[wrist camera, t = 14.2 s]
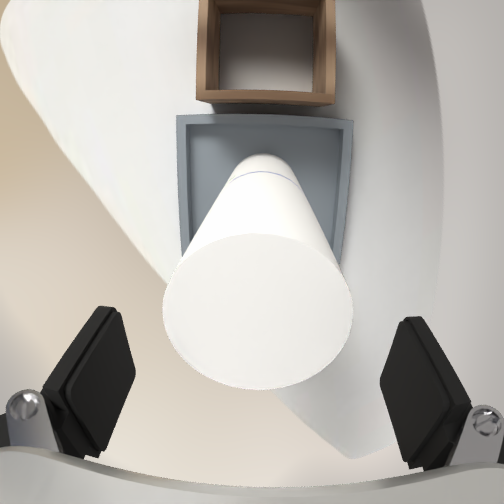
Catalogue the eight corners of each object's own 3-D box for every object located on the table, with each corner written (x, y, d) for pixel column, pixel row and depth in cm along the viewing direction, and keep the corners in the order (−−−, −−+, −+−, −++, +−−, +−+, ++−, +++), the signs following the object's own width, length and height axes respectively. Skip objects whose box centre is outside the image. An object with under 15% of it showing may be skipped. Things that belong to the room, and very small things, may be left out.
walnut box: (213, 8, 27) (200, -19, 20) (320, 11, 27) (334, -15, 20) (211, 103, 32) (195, 99, 25) (319, 106, 32) (334, 103, 24)
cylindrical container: (306, 202, 35) (371, 357, 12) (247, 227, 37) (218, 404, 14) (279, 142, 33) (314, 197, 10) (219, 170, 34) (127, 279, 11)
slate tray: (182, 115, 33) (176, 115, 30) (347, 120, 32) (353, 120, 30) (186, 250, 39) (182, 258, 37) (335, 254, 38) (339, 263, 36)
